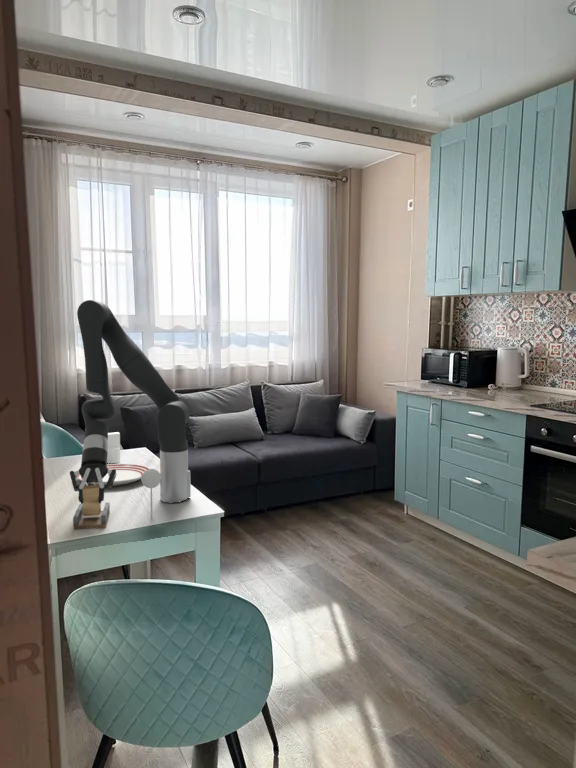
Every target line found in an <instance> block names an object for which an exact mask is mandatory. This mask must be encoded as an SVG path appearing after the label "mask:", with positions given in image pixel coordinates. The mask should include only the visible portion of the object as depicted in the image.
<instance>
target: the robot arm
mask: <svg viewBox="0 0 576 768" xmlns="http://www.w3.org/2000/svg"><path fill="white" fill-rule="evenodd" d="M76 315H77V316H76V317H77V322H78V326H79V330H80V335H81V340H82V347H83V353H84V366H85V386H86V387H85V388H86V391H88V393H94V394H99V395H100V396H101V397H102V399H101V398H99V399H87V400H85V401H83V403H82V405H81V414H82V416H83V421H84V428H85V430H84V441H83V445H82V452H81V453H82V454H81V464H80V467H79V469H78V470H76V471H73V470H70V471H69V476H70V479H71V484H72V488H73V491H74V492H78V497H77V499H78V501H79V503H80V504H83V488H84V486H89V484H90V483H92V482H95V483H99V486H100V489H99V497H98V502H99V503H101V504H102V502H104V500H105V492H106V491H110V490H111V489H112V487H113V486H112V485H113V482H114V480H115V477H116V470H115V469H113V470H109V469H108V468H107V465H108V464H107V455H108V433H109V426H108V424H107V423H105V422H104V421H111V420H112V419H114V417H115V415H116V405H115V402H114V400H113V397H112V395H111V391H110V385H109V368H108V362H107V359H106V354H105V351H104V346H103V342H104V343H106V345H107V347H108V348H109V350H110V352H111V355H112V357H113V360H114V362H115V363H116V365H117V366H118V368H119V370H120V371H121V372H122V373H123V375H124V376H125V377H126V378H127V380H129V382H130V383H132V385H133V386H135V387H136V388H137V389H138V390H139V391H141V392H143V394H144V395H147V397H149V398H150V399H151V400H152V402H153V403H154V404H155V406H156V407H157V409H158V410H159V411H158V413H157V439H158V440H157V441H158V444H159V473H160V475H161V477H162V478H161V481H160V483H159V485H160V486H159V489H160V491H159V492H160V494H159V496H160V497H159V498H160V501H161V502H162V501H163V502H162V503H165V502H169V503H168V504H171V503H170V502H179V501H183V500H186V499H187V498H189V497H191V489H192V488H191V487H192V485H191V483H192V482H191V470H189V442H188V440H187V431H186V430H187V428H186V427H187V425H186V424H187V423H188V422H189V419H190V418H191V417H190V410H189V407H188V406H187V404H186V403H185V402H184V401H183V400H182V399H181V398H180V397H179V395H177V394H176V393H175V392H174V391H173V390H172V388H170V386H169V385H168V384H167V383H166V381H165V380H164V378H163V377H162V375H161V374H160V373H159V371H158V370H157V369H156V368H155V366H154V365H153V363H152V362H151V361H150V359H149V358H148V357H147V356H146V354H144V352H143V351H142V349H141V348H139V346H138V345H137V344H136V342H135V341H134V340H133V339H132V338H131V337H130V336H129V334H127V333H126V332H125V330H124V329H123V327H122V326H121V324H120V323H119V321H118V319H117V318H116V317H115V315H114V313H113V312H112V310H111V308H110V307H109V306H108V305H107V304H106V303H104V302H102V301H99V300H94V299H89V300H85V301H82V303H81V302H80V304H79V306H78V308H77V313H76ZM107 473H108V476H109V479H108V481H107V484H105V485H104V484H103V480H102V479H103V478H104V477H105V476H106V474H107ZM78 475H81V477H82V478H83V479H82V481H81V483H80V485H78V482H77V478H78ZM187 500H188V499H187ZM187 500H186V501H187Z"/></svg>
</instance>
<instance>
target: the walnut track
mask: <svg viewBox="0 0 576 768" xmlns="http://www.w3.org/2000/svg"><path fill="white" fill-rule="evenodd" d="M110 507H111V505H110V502H105V503H104V506H103V510H101V511H100V514H99V515H94V516H83V504H81V503H79V504H78V505H77V508H76V511H75V513H74V515H73V516H72V517H73V519H72V520H73V521H72V522H73V523H72V527H73V530H86V529H87V530H88V529H99V528H100V529H101V528H102V529H103V528H106V527H107V524H108V521H109V518H110V514H111V513H110V512H111V510H110Z"/></svg>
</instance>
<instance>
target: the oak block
mask: <svg viewBox="0 0 576 768" xmlns="http://www.w3.org/2000/svg"><path fill="white" fill-rule="evenodd" d="M99 489H100V486H99V485H93V484H91V485H87V486H84V488H83V516H94V515H99V514H100V511H102V510H101V504H102V502H101V503H99V502H98V497H99Z"/></svg>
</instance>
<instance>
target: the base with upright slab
mask: <svg viewBox="0 0 576 768" xmlns="http://www.w3.org/2000/svg"><path fill="white" fill-rule="evenodd" d="M117 462H118V463H120V462H121V433H120V432H119V431H116V432H114V431H113V432H108V455H107V463H108V464H107V465H109V463H115V464H118V463H117Z"/></svg>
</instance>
